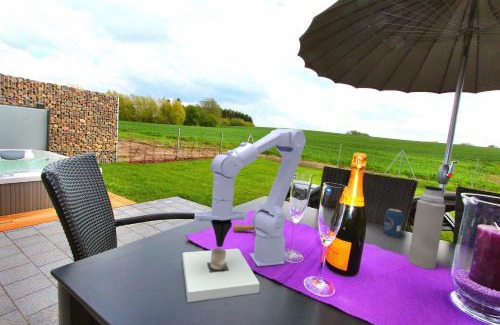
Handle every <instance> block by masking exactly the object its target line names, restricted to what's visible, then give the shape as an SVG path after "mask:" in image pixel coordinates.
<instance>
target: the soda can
mask: <svg viewBox="0 0 500 325" xmlns="http://www.w3.org/2000/svg"><path fill="white" fill-rule="evenodd" d="M403 219H404V214H403V210H401V209H398V208H391V207H390V208H388V209H387V210H386V212H385V218H384V225H383V234H384V235H385V236H387V237H391V238H399V237H400V236H401V232H402V227H403Z"/></svg>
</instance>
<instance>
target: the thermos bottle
mask: <svg viewBox="0 0 500 325" xmlns="http://www.w3.org/2000/svg"><path fill="white" fill-rule="evenodd" d="M442 193H443V188H441V187H438V186H433V185H424V190H423V193H421V194H420V196H419V199H418V200H417V202H416V209H415V214H414V221H413V227H412V234H411V241H410V245H409V246H410V247H409V252H408V262H410V264H412V265H415V266H416V267H419V268H422V269H426V270H434V269H435V268H436V266H437V265H436V264H437V259H438V252H439V247H440V241H441V235H442V231H443V230H442V229H443V223H444V217H445V212H446V204H445V203H444V202H445V198H444V197H443V196H442V195H443V194H442Z"/></svg>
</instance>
